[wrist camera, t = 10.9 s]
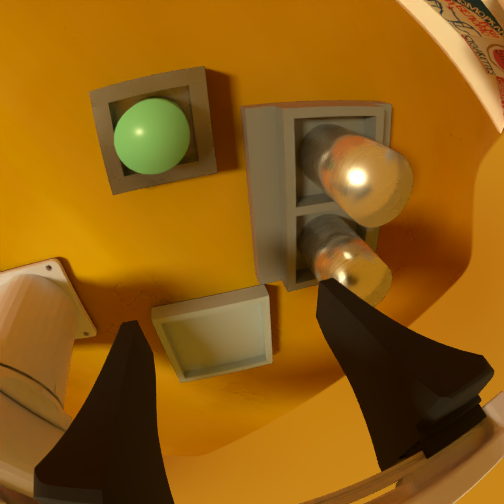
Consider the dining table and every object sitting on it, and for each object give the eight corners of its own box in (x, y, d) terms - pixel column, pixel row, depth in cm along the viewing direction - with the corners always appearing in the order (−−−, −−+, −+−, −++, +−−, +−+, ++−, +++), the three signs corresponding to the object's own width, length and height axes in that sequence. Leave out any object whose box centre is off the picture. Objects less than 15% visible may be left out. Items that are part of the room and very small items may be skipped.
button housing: (118, 182, 17) (112, 195, 15) (98, 89, 14) (89, 91, 12) (213, 163, 18) (217, 173, 16) (201, 67, 15) (204, 66, 13)
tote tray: (179, 371, 28) (180, 382, 27) (151, 307, 23) (151, 320, 22) (268, 352, 30) (272, 362, 28) (264, 284, 24) (269, 295, 23)
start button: (130, 165, 16) (123, 181, 13) (118, 105, 14) (107, 111, 11) (191, 151, 16) (195, 166, 14) (182, 90, 14) (184, 93, 12)
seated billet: (298, 186, 19) (343, 233, 14) (296, 125, 17) (349, 152, 12) (352, 179, 19) (406, 220, 15) (354, 122, 17) (417, 148, 12)
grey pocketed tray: (255, 275, 24) (264, 297, 21) (240, 106, 16) (250, 111, 14) (367, 249, 25) (383, 267, 23) (381, 101, 18) (404, 108, 16)
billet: (294, 264, 22) (328, 322, 18) (301, 215, 20) (342, 268, 15) (341, 258, 23) (381, 310, 18) (351, 212, 21) (400, 259, 16)
